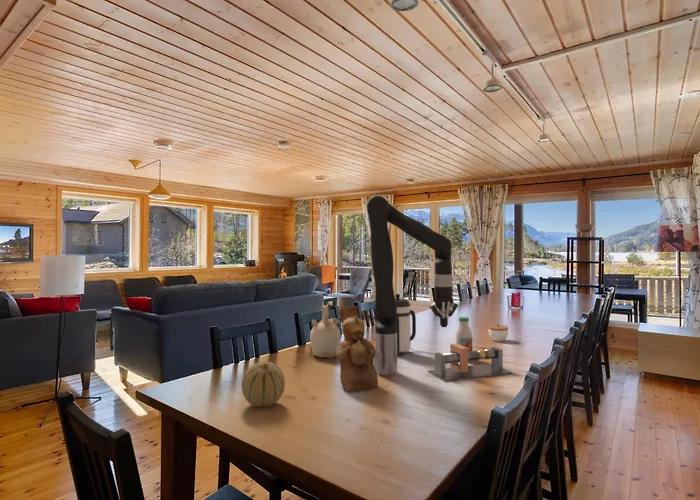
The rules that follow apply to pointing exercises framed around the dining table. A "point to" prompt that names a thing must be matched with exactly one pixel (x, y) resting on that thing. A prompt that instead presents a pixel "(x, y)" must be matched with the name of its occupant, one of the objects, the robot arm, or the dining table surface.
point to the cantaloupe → (263, 384)
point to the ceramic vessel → (355, 353)
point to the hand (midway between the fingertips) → (444, 326)
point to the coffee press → (404, 325)
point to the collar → (463, 357)
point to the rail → (474, 370)
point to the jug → (325, 336)
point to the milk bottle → (464, 333)
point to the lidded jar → (498, 332)
